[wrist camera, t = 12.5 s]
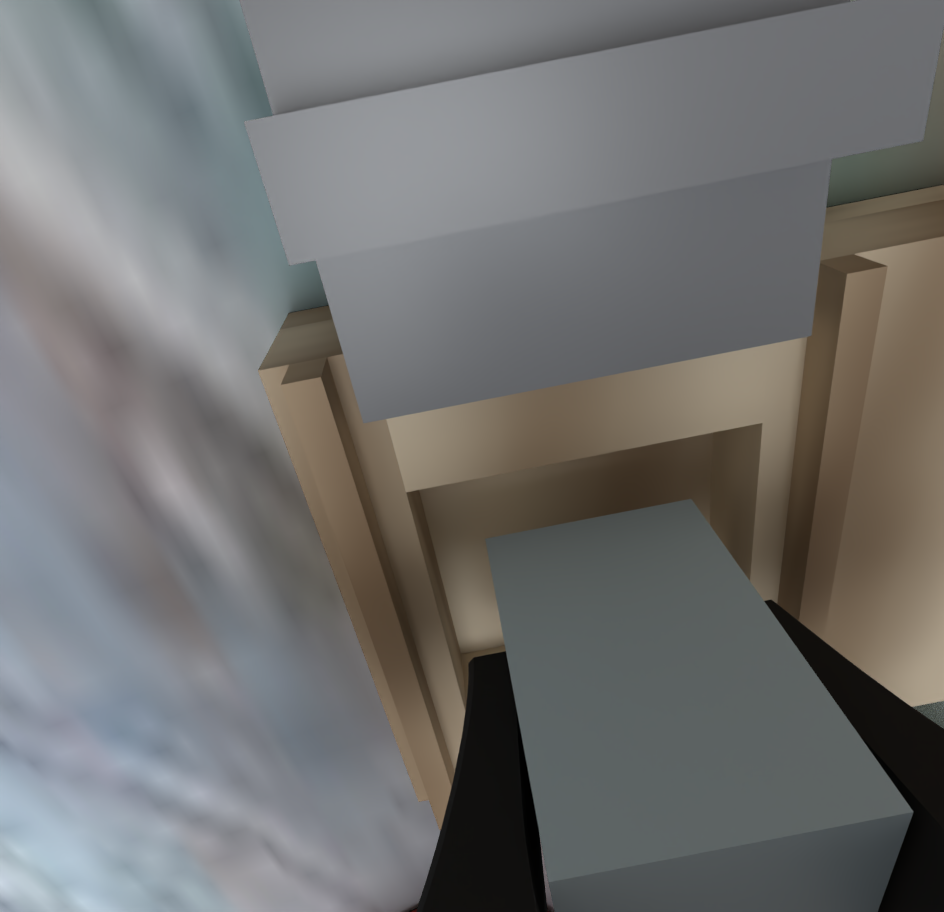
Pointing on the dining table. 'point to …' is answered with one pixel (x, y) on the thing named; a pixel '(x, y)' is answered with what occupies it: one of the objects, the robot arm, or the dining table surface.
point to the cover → (569, 175)
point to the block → (681, 729)
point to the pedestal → (652, 478)
